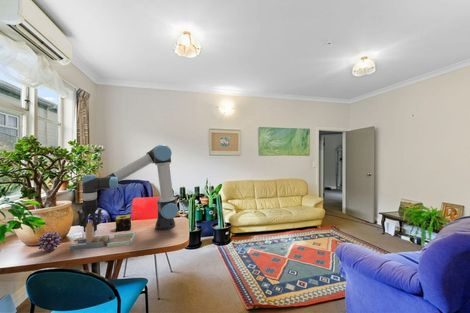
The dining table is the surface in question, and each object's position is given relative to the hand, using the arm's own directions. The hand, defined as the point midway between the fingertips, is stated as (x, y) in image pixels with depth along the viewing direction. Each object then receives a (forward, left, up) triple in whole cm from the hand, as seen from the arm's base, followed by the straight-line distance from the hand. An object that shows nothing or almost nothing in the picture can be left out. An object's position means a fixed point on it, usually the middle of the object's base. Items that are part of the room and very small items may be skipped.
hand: (90, 236), depth 132 cm
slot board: (-2, 0, -6) cm, 6 cm away
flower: (+21, 0, -6) cm, 22 cm away
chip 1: (-3, 0, -5) cm, 6 cm away
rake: (0, 0, -5) cm, 5 cm away
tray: (-18, 0, -6) cm, 19 cm away
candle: (-13, -28, -6) cm, 31 cm away
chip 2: (-7, 0, -5) cm, 9 cm away
